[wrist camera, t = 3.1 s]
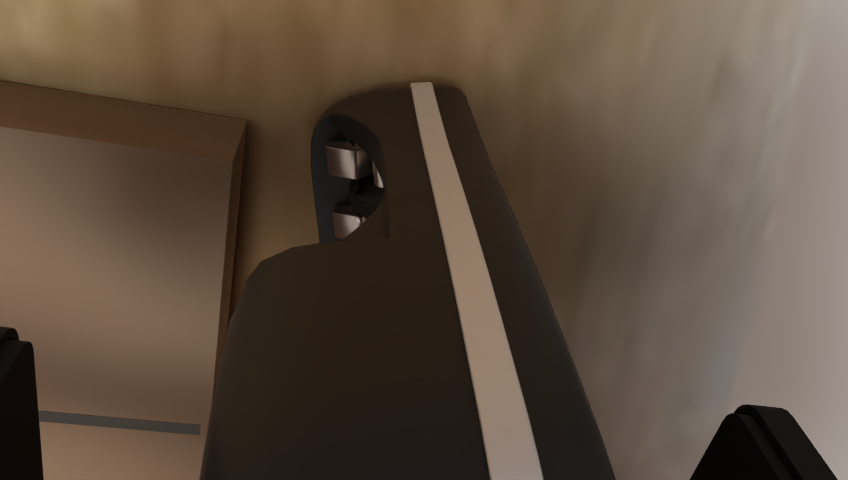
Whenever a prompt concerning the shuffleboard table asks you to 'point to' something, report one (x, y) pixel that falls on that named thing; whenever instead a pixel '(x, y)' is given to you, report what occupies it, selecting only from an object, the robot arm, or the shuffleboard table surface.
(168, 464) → the board
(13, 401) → the robot arm
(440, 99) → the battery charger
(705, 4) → the shuffleboard table surface
